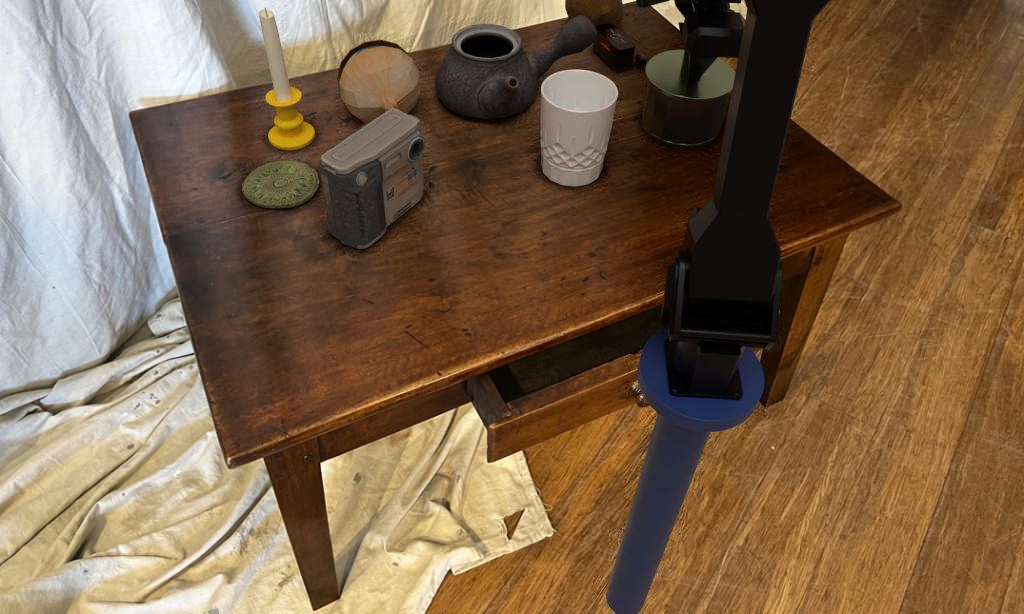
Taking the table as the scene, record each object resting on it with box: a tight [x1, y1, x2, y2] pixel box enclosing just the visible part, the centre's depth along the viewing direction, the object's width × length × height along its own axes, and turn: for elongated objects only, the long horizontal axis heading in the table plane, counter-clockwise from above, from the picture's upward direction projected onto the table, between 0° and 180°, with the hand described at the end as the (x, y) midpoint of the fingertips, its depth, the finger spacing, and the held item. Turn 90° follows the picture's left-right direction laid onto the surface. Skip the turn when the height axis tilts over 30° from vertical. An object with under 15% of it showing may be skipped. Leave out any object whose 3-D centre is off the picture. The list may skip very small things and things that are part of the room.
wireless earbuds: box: [592, 24, 649, 72], centre depth 103 cm, size 5×7×3 cm, turn 26°
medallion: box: [241, 159, 320, 209], centre depth 84 cm, size 8×8×1 cm
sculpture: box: [336, 39, 421, 124], centre depth 90 cm, size 9×9×15 cm
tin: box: [641, 81, 731, 149], centre depth 92 cm, size 9×9×6 cm
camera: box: [317, 109, 426, 250], centre depth 78 cm, size 11×6×10 cm, turn 143°
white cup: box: [539, 68, 619, 188], centre depth 85 cm, size 8×8×10 cm
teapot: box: [434, 15, 597, 120], centre depth 93 cm, size 19×15×10 cm
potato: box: [564, 0, 625, 28], centre depth 107 cm, size 8×12×8 cm
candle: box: [258, 7, 316, 151], centre depth 85 cm, size 5×5×16 cm
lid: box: [644, 49, 736, 102], centre depth 88 cm, size 10×10×5 cm
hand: (691, 72), depth 89 cm, fingers closed
